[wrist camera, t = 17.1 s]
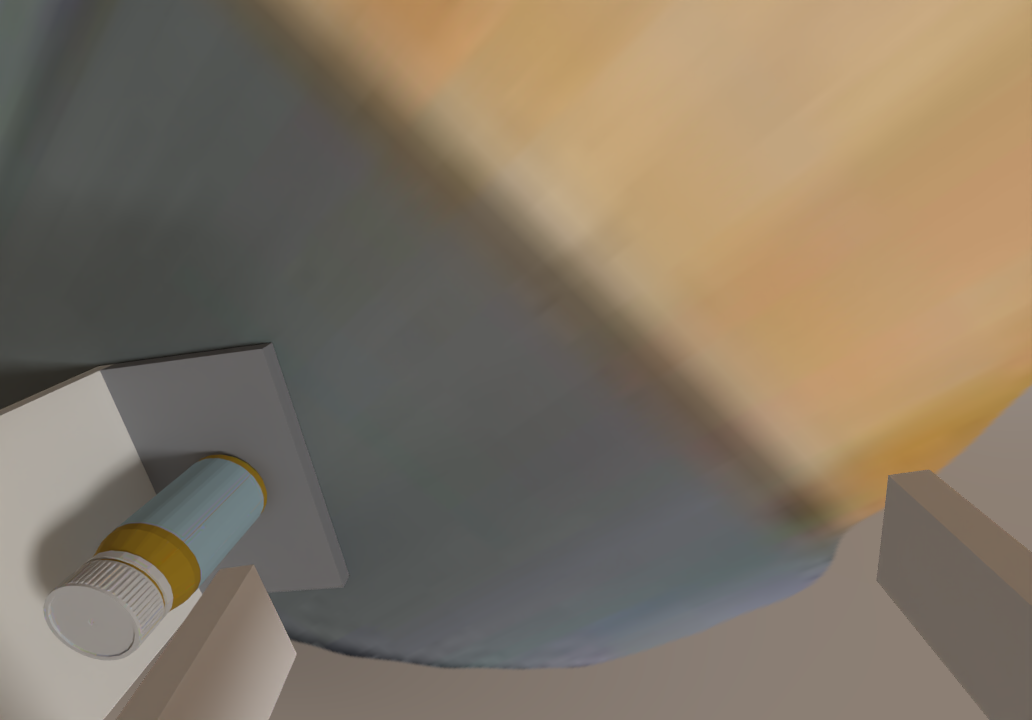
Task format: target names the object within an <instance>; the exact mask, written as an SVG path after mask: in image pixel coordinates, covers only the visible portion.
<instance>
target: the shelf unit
mask: <svg viewBox="0 0 1032 720" xmlns="http://www.w3.org/2000/svg"><path fill="white" fill-rule="evenodd" d="M210 455H227V456H232V457H236V458H239V459H241V460H243V461H245V462H247V463H249V464H250V465H251V466H252V467H253V468H254V469H256V470H257V472H258V473H259V475H260V476H261V477H262V479H263V482H264V484H265V487H266V491H267V504H266V506H265V508H264V510H263V512H262V513H261V514H260V516H259V517H258V518H257V520H256V521H255V522H254V523H253V524H252V526H251V527H250V528H249V529H248V530H247V531H246V533H245V534H244V535H243V536H242V537H241V538H240V540H239V541H238V542H237V543H236V544H235V546H234V547H233V548H232V549H231V550H230V551H229V553H228V554H227V555H226V556H225V557H224V558H223V560H222V561H221V562H220V563H219V564H218V566H217V567H216V568H215V569H214V570H213V571H212V573H211V574H210V575H209V576H208V577H207V578H206V580H205V581H204V582H203V583H202V584H201V586H200V587H199V588H198V589H197V590H196V591H195V592H194V593H193V594H192V595H191V597H190V598H189V599H188V600H186V601H185V602H184V603H183V604H181V605H179V606H178V607H176V608H175V609H173V610H171V611H170V612H168V613H167V615H166V616H165V617H164V618H163V619H162V621H161V622H160V623H159V625H158V626H157V627H156V628H155V629H154V630H153V632H152V633H151V634H150V635H149V636H148V637H147V638H146V640H145V641H144V642H143V643H142V644H141V645H140V647H139V648H138V649H137V650H136V651H134V652H133V653H132V654H130V655H129V656H127V657H125V658H122V659H119V660H110V661H108V660H98V659H94V658H90V657H87V656H84V655H82V654H80V653H78V652H76V651H74V650H72V649H71V648H69V647H68V646H66V645H65V644H64V643H62V642H61V641H60V640H59V639H58V638H57V637H56V636H55V635H54V634H53V632H52V631H51V630H50V628H49V626H48V625H47V623H46V620H45V617H44V612H43V607H44V602H45V600H46V598H47V596H48V595H49V594H50V593H51V591H52V590H53V589H54V588H55V587H57V586H58V585H59V584H60V583H61V582H63V581H64V580H65V579H66V578H67V577H68V576H70V575H71V574H72V573H73V572H74V571H76V570H77V569H78V568H79V567H81V566H82V565H83V564H84V563H86V562H87V561H88V560H89V559H90V558H92V557H93V556H94V554H95V552H96V551H97V549H98V547H99V546H100V544H101V542H102V541H103V540H104V539H105V538H106V537H107V536H108V535H109V534H110V533H111V532H112V531H113V530H114V529H116V528H117V527H118V526H119V525H120V524H122V523H123V522H124V521H125V520H127V519H128V518H129V517H130V516H131V515H133V514H134V513H135V512H136V511H137V510H139V509H140V508H141V507H142V506H144V505H145V504H146V503H147V502H148V501H150V500H151V499H152V498H153V497H154V496H156V495H157V494H158V493H159V492H160V491H162V490H163V489H164V488H165V487H167V486H168V485H169V484H170V483H171V482H173V481H174V480H175V479H176V478H177V477H179V476H180V475H181V474H182V473H184V472H185V471H186V470H187V469H188V468H190V467H191V466H192V465H193V464H195V463H196V462H198V461H199V460H200V459H202V458H204V457H207V456H210ZM253 564H254V566H255V568H256V570H257V572H258V574H259V577H260V579H261V581H262V583H263V585H264V587H265V589H266V591H267V593H270V592H284V591H298V590H312V589H326V588H340V587H344V585H345V583H346V581H347V579H348V577H349V573H348V570H347V567H346V564H345V561H344V558H343V555H342V552H341V549H340V546H339V543H338V540H337V537H336V534H335V531H334V528H333V525H332V522H331V519H330V516H329V513H328V510H327V507H326V504H325V500H324V497H323V494H322V491H321V488H320V485H319V482H318V479H317V476H316V473H315V470H314V467H313V464H312V461H311V458H310V455H309V452H308V449H307V446H306V443H305V440H304V437H303V434H302V431H301V428H300V425H299V422H298V419H297V416H296V413H295V410H294V407H293V404H292V401H291V398H290V395H289V392H288V389H287V386H286V383H285V380H284V377H283V374H282V371H281V368H280V365H279V362H278V359H277V356H276V353H275V350H274V347H273V344H272V343H266V344H258V345H251V346H243V347H236V348H229V349H221V350H214V351H206V352H199V353H192V354H184V355H177V356H169V357H162V358H155V359H147V360H140V361H133V362H125V363H118V364H110V365H103V366H98V367H95V368H93V369H91V370H89V371H86V372H84V373H82V374H80V375H77V376H75V377H73V378H71V379H68V380H66V381H64V382H61V383H59V384H57V385H55V386H52V387H50V388H48V389H46V390H43V391H41V392H39V393H37V394H34V395H32V396H30V397H28V398H25V399H23V400H21V401H19V402H16V403H14V404H12V405H10V406H7V407H5V408H3V409H1V410H0V720H103V719H104V718H105V717H106V716H107V715H108V713H109V712H110V711H111V710H112V708H113V707H114V706H115V705H116V704H117V702H118V701H119V700H120V699H121V697H122V696H123V695H124V694H125V693H126V691H127V690H128V689H129V688H130V686H131V685H132V684H133V683H134V682H135V680H136V679H137V678H138V677H139V675H140V674H141V673H142V672H143V670H144V669H145V668H146V667H147V666H148V664H149V663H150V662H151V661H152V659H153V658H154V657H155V656H156V655H157V653H158V652H159V651H160V650H161V648H162V647H163V646H164V645H165V643H166V642H167V641H168V640H169V639H170V637H171V636H172V635H173V634H174V633H175V631H176V630H177V629H178V628H179V626H180V625H181V624H182V623H183V622H184V620H185V619H186V617H187V616H188V615H189V613H190V612H191V610H192V609H193V607H194V606H195V604H196V603H197V601H198V600H199V599H200V597H201V596H202V594H203V593H204V591H205V590H206V588H207V587H208V586H209V584H210V583H211V581H212V580H213V578H214V577H215V575H216V574H217V573H218V571H219V570H220V569H224V568H231V567H239V566H246V565H253Z"/></svg>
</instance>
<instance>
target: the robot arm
mask: <svg viewBox="0 0 1032 720" xmlns="http://www.w3.org/2000/svg"><path fill="white" fill-rule="evenodd" d="M877 581H878V583H879V584H880V585H881V586H882V588H883V589H884V590H885V591H886V593H887V594H888V595H889V596H890V598H891V599H892V600H893V601H894V603H895V604H896V605H897V606H898V607H899V608H900V610H901V611H902V612H903V614H904V615H905V616H906V617H907V619H908V620H909V621H910V622H911V624H912V625H913V626H914V627H915V628H916V630H917V631H918V632H919V633H920V635H921V636H922V637H923V638H924V640H925V641H926V642H927V643H928V645H929V646H930V647H931V648H932V649H933V651H934V652H935V653H936V654H937V656H938V657H939V658H940V659H941V660H942V662H943V663H944V664H945V665H946V667H947V668H948V669H949V670H950V672H951V673H952V674H953V675H954V677H955V678H956V679H957V680H958V682H959V683H960V684H961V685H962V687H963V688H964V689H965V690H966V691H967V693H968V694H969V695H970V696H971V698H972V699H973V700H974V701H975V703H976V704H977V705H978V706H979V707H980V708H981V710H982V711H983V712H984V714H985V715H986V716H987V717H988V719H989V720H1032V552H1031V551H1029V550H1028V549H1027V548H1026V547H1024V546H1023V545H1022V544H1021V543H1019V542H1018V541H1017V540H1016V539H1014V538H1013V537H1012V536H1011V535H1009V534H1008V533H1007V532H1006V531H1004V530H1003V529H1002V528H1001V527H1000V526H998V525H997V524H996V523H995V522H993V521H992V520H991V519H990V518H988V517H987V516H986V515H985V514H983V513H982V512H981V511H980V510H979V509H977V508H976V507H975V506H974V505H972V504H971V503H970V502H969V501H967V500H966V499H965V498H964V497H962V496H961V495H960V494H959V493H957V492H956V491H955V490H954V489H953V488H951V487H950V486H949V485H947V484H946V483H945V482H944V481H943V480H941V479H940V478H939V477H938V476H936V475H935V474H934V473H933V472H931V471H930V470H922V471H915V472H908V473H901V474H894V475H888V484H887V493H886V502H885V510H884V519H883V528H882V537H881V546H880V555H879V564H878V573H877ZM296 655H297V654H296V651H295V650H294V647H293V646H292V643H291V641H290V639H289V637H288V635H287V633H286V631H285V629H284V626H283V624H282V622H281V620H280V618H279V616H278V614H277V612H276V610H275V608H274V606H273V604H272V601H271V599H270V597H269V595H268V593H267V591H266V589H265V587H264V585H263V583H262V581H261V579H260V577H259V574H258V572H257V570H256V568H255V566H254V564H253V565H246V566H239V567H231V568H224V569H220V570H219V571H218V573H217V574H216V575H215V577H214V578H213V580H212V581H211V583H210V584H209V586H208V587H207V588H206V590H205V591H204V593H203V594H202V596H201V597H200V599H199V600H198V601H197V603H196V604H195V606H194V607H193V609H192V610H191V612H190V613H189V615H188V616H187V617H186V619H185V620H184V622H183V623H182V625H181V626H180V628H179V629H178V630H177V632H176V633H175V635H174V636H173V638H172V639H171V641H170V642H169V643H168V645H167V646H166V648H165V649H164V651H163V652H162V654H161V655H160V657H159V658H158V660H157V661H156V662H155V664H154V665H153V667H152V668H151V669H150V671H149V672H148V674H147V675H146V677H145V678H144V680H143V681H142V683H141V684H140V685H139V687H138V688H137V690H136V691H135V693H134V694H133V696H132V697H131V698H130V700H129V701H128V703H127V704H126V706H125V707H124V709H123V710H122V711H121V713H120V714H119V716H118V717H117V719H116V720H269V717H270V715H271V713H272V711H273V708H274V706H275V703H276V701H277V699H278V696H279V694H280V692H281V690H282V687H283V685H284V682H285V680H286V678H287V676H288V673H289V671H290V668H291V666H292V664H293V661H294V659H295V657H296Z"/></svg>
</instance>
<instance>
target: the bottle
mask: <svg viewBox="0 0 1032 720" xmlns="http://www.w3.org/2000/svg"><path fill="white" fill-rule="evenodd" d="M266 504H267V491H266V487H265V484H264V482H263V479H262V477H261V476H260V475H259V473H258V472H257V470H256V469H254V468H253V467H252V466H251V465H250V464H249V463H247V462H245V461H243V460H241V459H239V458H236V457H232V456H227V455H210V456H207V457H204V458H202V459H200V460H199V461H198V462H196V463H195V464H193V465H192V466H191V467H190V468H188V469H187V470H186V471H185V472H184V473H182V474H181V475H180V476H179V477H177V478H176V479H175V480H174V481H173V482H171V483H170V484H169V485H168V486H167V487H165V488H164V489H163V490H162V491H160V492H159V493H158V494H157V495H156V496H154V497H153V498H152V499H151V500H150V501H148V502H147V503H146V504H145V505H144V506H142V507H141V508H140V509H139V510H137V511H136V512H135V513H134V514H133V515H131V516H130V517H129V518H128V519H127V520H125V521H124V522H123V523H122V524H120V525H119V526H118V527H117V528H116V529H114V530H113V531H112V532H111V533H110V534H109V535H108V536H107V537H106V538H105V539H104V540H103V541H102V542H101V544H100V546H99V547H98V549H97V551H96V552H95V554H94V556H93V557H92V558H90V559H89V560H88V561H87V562H86V563H84V564H83V565H82V566H81V567H79V568H78V569H77V570H76V571H74V572H73V573H72V574H71V575H70V576H68V577H67V578H66V579H65V580H64V581H63V582H61V583H60V584H59V585H58V586H57V587H55V588H54V589H53V590H52V591H51V593H50V594H49V595H48V596H47V598H46V600H45V602H44V607H43V612H44V617H45V620H46V623H47V625H48V626H49V628H50V630H51V631H52V632H53V634H54V635H55V636H56V637H57V638H58V639H59V640H60V641H61V642H62V643H64V644H65V645H66V646H68V647H69V648H71V649H72V650H74V651H76V652H78V653H80V654H82V655H84V656H87V657H90V658H94V659H98V660H108V661H110V660H119V659H122V658H125V657H127V656H129V655H130V654H132V653H133V652H134V651H136V650H137V649H138V648H139V647H140V645H141V644H142V643H143V642H144V641H145V640H146V638H147V637H148V636H149V635H150V634H151V633H152V632H153V630H154V629H155V628H156V627H157V626H158V625H159V623H160V622H161V621H162V619H163V618H164V617H165V616H166V615H167V613H168V612H170V611H171V610H173V609H175V608H176V607H178V606H179V605H181V604H183V603H184V602H185V601H186V600H188V599H189V598H190V597H191V595H192V594H193V593H194V592H195V591H196V590H197V589H198V588H199V587H200V586H201V584H202V583H203V582H204V581H205V580H206V578H207V577H208V576H209V575H210V574H211V573H212V571H213V570H214V569H215V568H216V567H217V566H218V564H219V563H220V562H221V561H222V560H223V558H224V557H225V556H226V555H227V554H228V553H229V551H230V550H231V549H232V548H233V547H234V546H235V544H236V543H237V542H238V541H239V540H240V538H241V537H242V536H243V535H244V534H245V533H246V531H247V530H248V529H249V528H250V527H251V526H252V524H253V523H254V522H255V521H256V520H257V518H258V517H259V516H260V514H261V513H262V512H263V510H264V508H265V506H266Z"/></svg>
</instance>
